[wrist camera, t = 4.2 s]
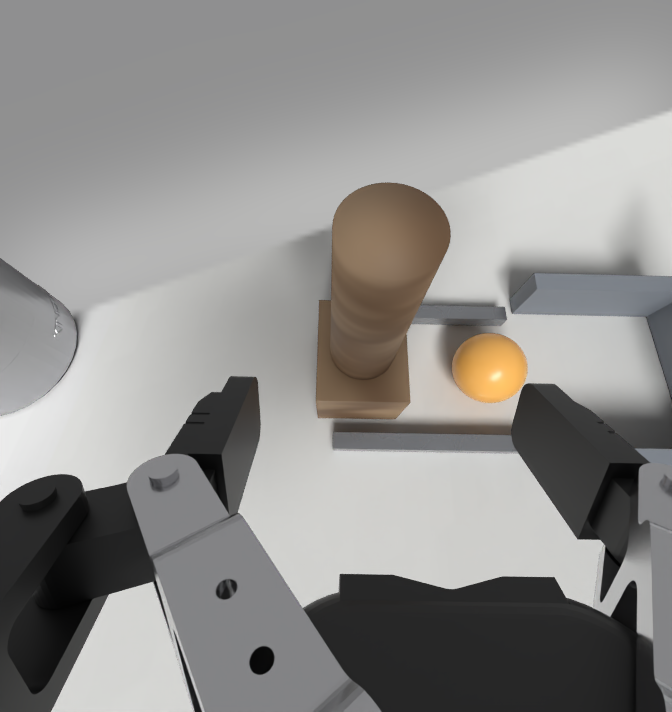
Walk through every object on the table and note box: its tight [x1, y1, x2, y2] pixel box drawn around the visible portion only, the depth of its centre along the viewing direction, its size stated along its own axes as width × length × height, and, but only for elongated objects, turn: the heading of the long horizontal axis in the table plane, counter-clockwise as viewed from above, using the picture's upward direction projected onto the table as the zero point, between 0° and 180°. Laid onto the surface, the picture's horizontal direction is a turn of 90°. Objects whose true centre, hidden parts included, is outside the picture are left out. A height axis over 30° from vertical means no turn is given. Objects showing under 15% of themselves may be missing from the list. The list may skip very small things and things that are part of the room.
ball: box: [452, 333, 528, 403], centre depth 23 cm, size 4×4×4 cm
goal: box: [510, 273, 672, 466], centre depth 22 cm, size 11×12×8 cm
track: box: [333, 305, 518, 453], centre depth 25 cm, size 12×10×1 cm
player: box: [316, 183, 451, 419], centre depth 18 cm, size 5×6×15 cm
